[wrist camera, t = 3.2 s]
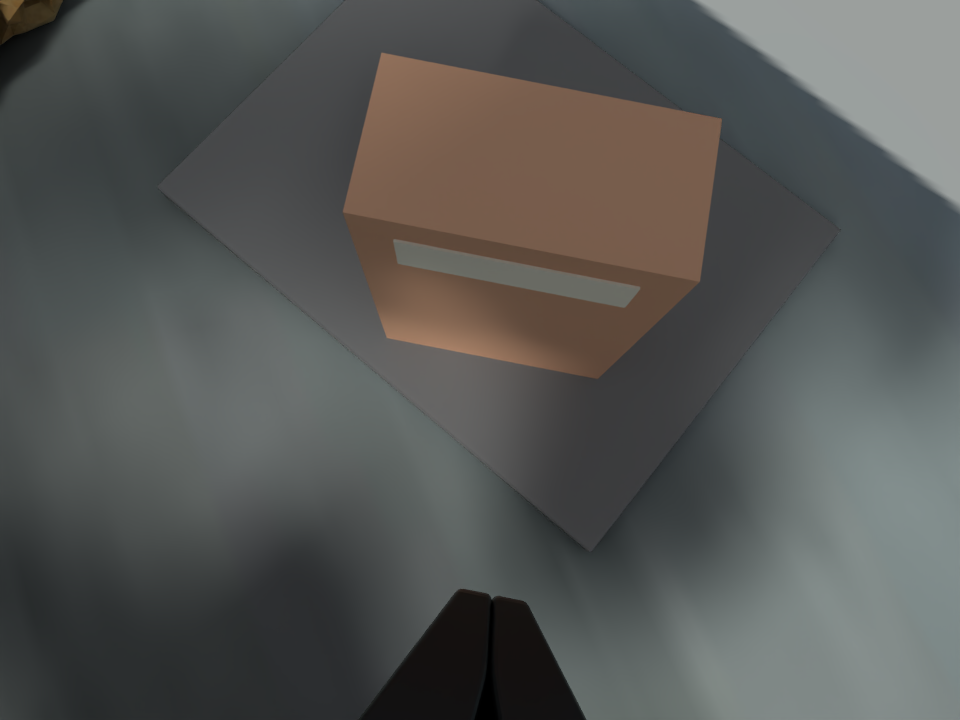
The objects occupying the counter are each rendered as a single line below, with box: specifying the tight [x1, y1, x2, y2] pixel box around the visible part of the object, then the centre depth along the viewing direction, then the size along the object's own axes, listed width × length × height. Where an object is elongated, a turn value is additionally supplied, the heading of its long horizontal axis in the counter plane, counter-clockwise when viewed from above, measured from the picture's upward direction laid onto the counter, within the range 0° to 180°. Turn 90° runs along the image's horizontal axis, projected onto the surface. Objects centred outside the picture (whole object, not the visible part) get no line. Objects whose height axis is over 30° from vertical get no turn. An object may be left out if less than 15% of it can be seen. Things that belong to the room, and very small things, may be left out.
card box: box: [343, 53, 722, 379], centre depth 17 cm, size 3×6×9 cm, turn 79°
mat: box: [157, 0, 841, 552], centre depth 23 cm, size 16×12×1 cm
